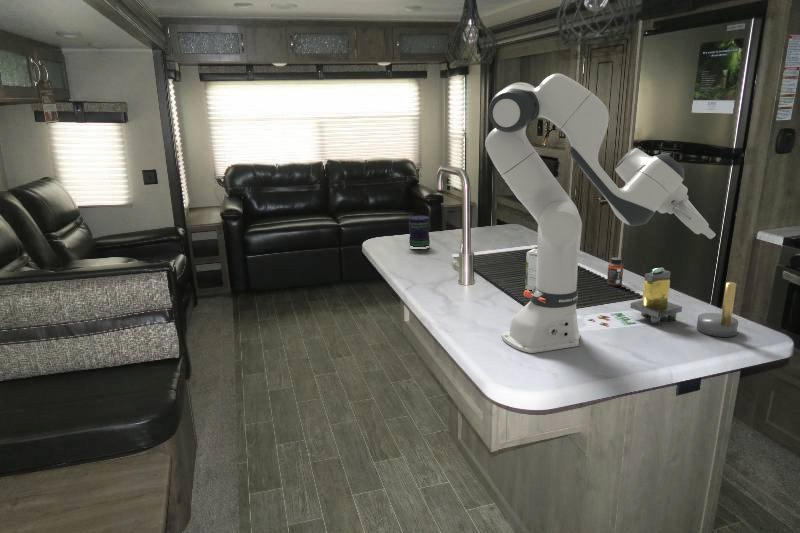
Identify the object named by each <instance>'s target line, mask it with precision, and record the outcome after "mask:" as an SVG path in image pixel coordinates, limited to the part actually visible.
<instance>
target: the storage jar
mask: <svg viewBox="0 0 800 533" xmlns="http://www.w3.org/2000/svg"><path fill="white" fill-rule="evenodd" d="M408 228H409V229H408V230H409V238H408V239H409V247H410V246H413V247H426V246H430V244H431V240H430V216H427V215H412V216H409V217H408Z"/></svg>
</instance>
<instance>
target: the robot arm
mask: <svg viewBox="0 0 800 533" xmlns="http://www.w3.org/2000/svg"><path fill="white" fill-rule="evenodd" d="M488 118H489V122H490V123H491V124H492V126H493V127H494V128H493V129H492V130H491V131H490V132H489V133H488V134H487V136H486V138H485V141H484V142H485V143H484V146H485V149H486V152H487V154H488V156H489V158H490V160H491V162H492V164H493V165H494V167H495V168H496V170H497V171H498V173H499V174H500V175H501V176H500V177H502V179H503V181H504V182H505V183H506V184H507V186H508V187H509V189H510V190H511V192H512V193H513V194H514V196H515V197H516V199H518V201H519V202H520V203H521V204H522V205H523V207H525V209H526V210H527V211H528V212H529V213H530V215H531V217H533V219H534V220H535V222H536V223H537V244H536V245H537V247H536V249H537V270H536V286H535V288H534V290H533V291H529V290H525V289H524V291H523V297H526V298H528V299H529V300H530V301H529V302H528V303H527V304H525V305H524V307H522V308H521V309H520V310H519V311H518V312H517V313H516V314H515V315H513V317H512V318H511V321H510V326H509V330H507V331H504V332H502V333H501V340H502V341H503V342H505V343H506V344H508V345H509V346H510V347H512V348H514V349H516V350H518V351H521V352H524V353H530V354H536V353H541V352H548V351H554V350H560V349H561V350H562V349H569V348H575V347H578V346H580V338H581V335H580V330H579V326H578V316H577V315H578V314H577V313H578V312H577V303H578V302H579V301H578V299H579V294H578V293H579V289H578V288H577V287H578V286H577V285H578V269H579V268H578V267H579V256H580V247H581V240H582V227H583V222H582V219H581V215H580V212H579V210H578V208H577V206H576V204H575V203H574V201H573V200H572V199H571V198H570V196H569V194H568V193H567V192H566V191H565V189H564V188H563V187H562V185H561V184H560V183H559V181H558V180H557V179H556V178H555V176H554V175H553V173H552V172H551V171H550V169H549V168H548V166H547V165H546V162H544V161H543V159H542V158H541V156H540V155H539V153H538V152H537V151H536V149H535V148H534V146H533V145H532V144H531V141H529V139H528V137H527V134H526V129H528V128H529V126H530V125H531V124H532V123H533V122H534V121H535V120H537V119H539V118H543V119H546V120H548V121H550V123H552V124H554V125H555V126H556V127H557V128H558V129H559V130H560V131H562V132H563V133H564V135H565V136H566V137H567V139H568V141H569V144H570V149H569V155H570V157H571V159H572V160H573V162H574V163H575V164H576V166H577V167H578V168H579V169H580V171H581V172H582V173H583V175H584V176H585V177H586V178H587V179H588V180H589V182H590V183H591V184H592V186H593V187H594V188H595V189H596V190H597V192H599V194H600V195H601V196H602V197H603V199H604V200H605V201H606V203H607V204H608V205H609V207H610V208H611V210H612V211H613V213H614V214H615V216H616V217H617V218H618V220H620V221H621V222H622V223H624V224H625V225H628V226H630V227H637V226H642V225H645V224H646V225H647V223H648V222H649V221H650V219H651V218H652V217H653V216H654V214H655V213H656V211H657V212H658V213H660V214H666V213H668V214H669V215H672V214H674V216H676V217H677V219H679V221H681V223H683V224H684V225H685V226H686V227H687V228H688V229H690V231H692V232H693V234H696V235H700V234H702V235H704V236H706V237H707V238H708V240H709V239H710V240H713V238H715V237H716V233H715V231H713V229H711V228H710V227H709V226H710V224H709V222H708V221H707V220H706V219H705V218H704V217H703V216H702V214H701V213H700V212H699V210H697V209H696V208H695V206H694V205H693V204H692V203H691V201H690V200H689V195H688V192H689V190H688V187H687V186H686V185H684V184H683V182H684V180H685V170H684V169H685V168H684V167H683V165H682V164H680V163H679V162H677V161H676V160H675V159H674V158H673V157H672V156H671V155H669V154H668V153H661V154H656V155H655V154H654V155H653V156H651V155H649V154H647V153H646V152H644V151H643V150H641V149H639V148H638V147H633V148H632V149H630V150H629V151H627V153H626V154H624V155H623V157H622V158H621V159H620V160H619V161H618V163H617V164H616V165H615V168H614V170H615V172H616V174H618V176H619V177H620V178H621V180H622V181H624V183H625V185H624V186H623V187H621V188H619V187H618V185H616V183H615V182H614V181H613V180H612V178H611V177H610V176H609V175H608V173H607V172H606V171H605V170H604V168H602V166H601V164H600V162H599V153H600V149H601V146H602V144H603V140H604V139H605V135H606V133H607V130H608V126H609V122H610V115H609V110H608V108H607V106H606V105H605V103H604V102H603V101H602V100H601V99H600V98H599V97H598V96H596V95H595V94H594V93H593V92H591V91H590V90H589V89H588V88H586V87H585V86H583V85H582V84H581V83H579V82H578V81H576V80H574V79H573V78H570V77H569V76H567V75H565V74H563V73H553V74H550V75H549V76H547V77H546V78H544V79H543V80H542V81H541V82H540V83H539V85H536V84H533V83H532V82H529V81H527V80H526V81H523V80H521V81H517V82H514V83H511V84H509V85H506V86H505V87H504V88H503V89H501V90H500V91H498V92H497V93H496V94H495V95H494V96H493V97H492V99H491V101H490V103H489V107H488Z"/></svg>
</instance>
